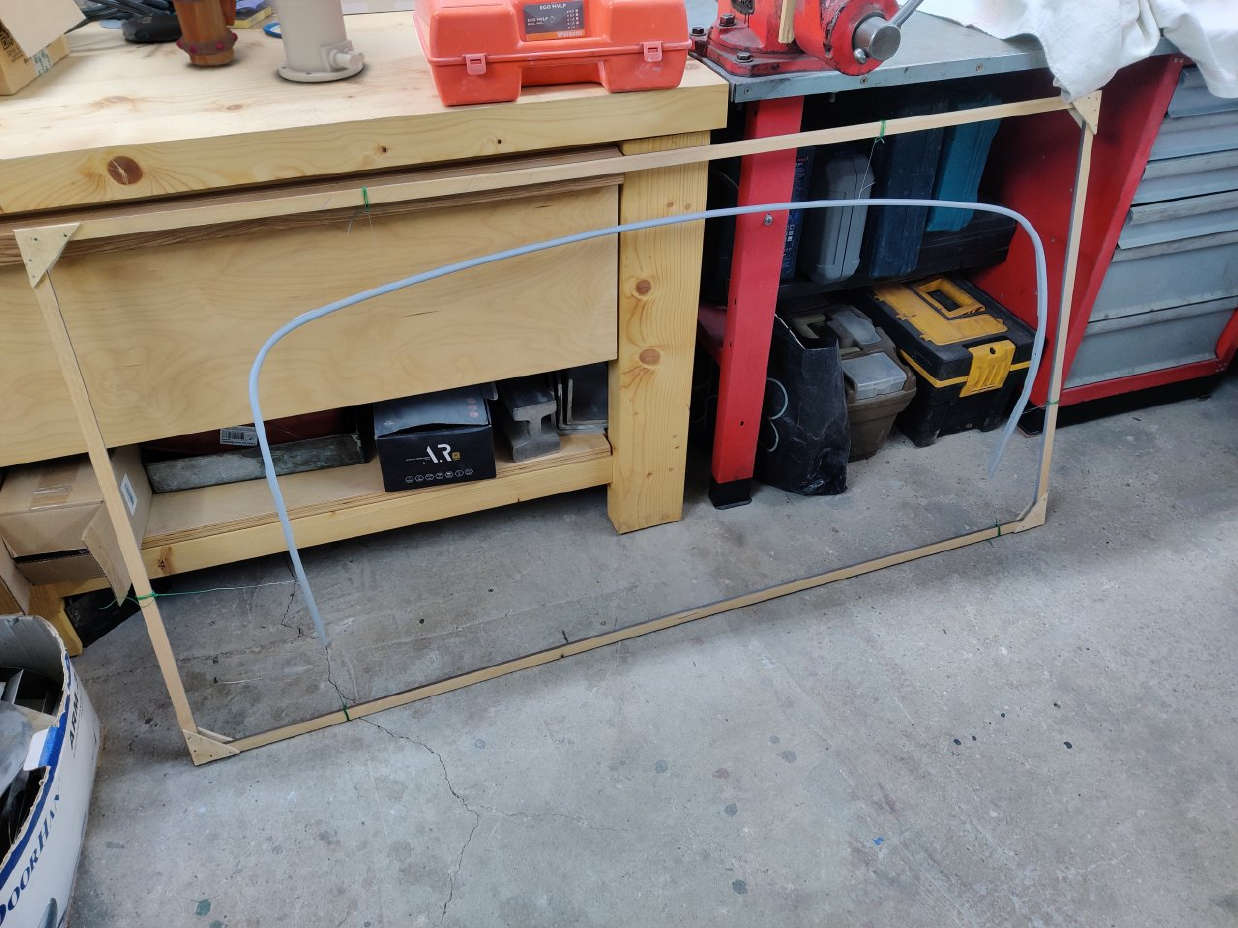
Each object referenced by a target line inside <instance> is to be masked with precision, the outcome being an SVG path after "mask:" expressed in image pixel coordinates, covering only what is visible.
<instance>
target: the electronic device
mask: <svg viewBox="0 0 1238 928" xmlns="http://www.w3.org/2000/svg"><path fill="white" fill-rule="evenodd" d="M120 28H121V32H122V36H123V37H124V38H125V39H127V40H129V41H132V42H133V41H134V42H155V41H163V42H166V41H167V42H168V41H172V40H178V39H180V38H181V36H182V35H183V34H182V30H181V27H180V23H179V20H178V16H177V14H145V15H140V16H135V17H132V18H129V19H127V20H125V21H123V22H122V23H121V24H120Z"/></svg>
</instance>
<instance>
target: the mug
mask: <svg viewBox="0 0 1238 928" xmlns="http://www.w3.org/2000/svg"><path fill="white" fill-rule="evenodd" d="M170 1H171V2H172V3H173V7H174V10H175V13H176V15H177V16H178V20H179V23H180V27H181V30H182V34H183V35H182V36H181V38H178V39H176V41H175V45H176V47H178V49H180V50H182V51H183V52H185V53H186V54H187V55H188V56H189V60H190V62H191V63H192V64H193V65H196V66H199V67H218V66H223V65H226V64H228V63H230V62H231V61H232V60H233V59H234V58H235V49H234V46H235V45H236V42H237V41H238V40H239V36H238V34H237V33H236V32H233V31H232V29H231V28H229V27H234V26H235V22H236V16H237V15H236V13H237V0H170Z"/></svg>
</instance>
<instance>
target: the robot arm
mask: <svg viewBox="0 0 1238 928" xmlns="http://www.w3.org/2000/svg"><path fill="white" fill-rule="evenodd" d="M273 4H274V8H275V14H276V16H277V22H278V26H279V30H280V35H281V40H282V44H283V49H284V53H285V56H286V59H284V60H283V61H281V62H280V63H279V65H278V67H277V68H278V73H279V75H280V76H281V77H282V78H284V79H286V80H290V81H294V82H300V83H301V82H305V83H318V82H319V83H320V82H329V81H336V80H340V79H346V78H349V77H351V76H354V75H356V74H358V73H360V71H361V70H362V69H363V62H364V61H365V55H364V53H362V52H360V51H354V46H353V41H352V39H348V35H347V30H346V23H345V19H344V15H343V8H342V3H341V0H273Z"/></svg>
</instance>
